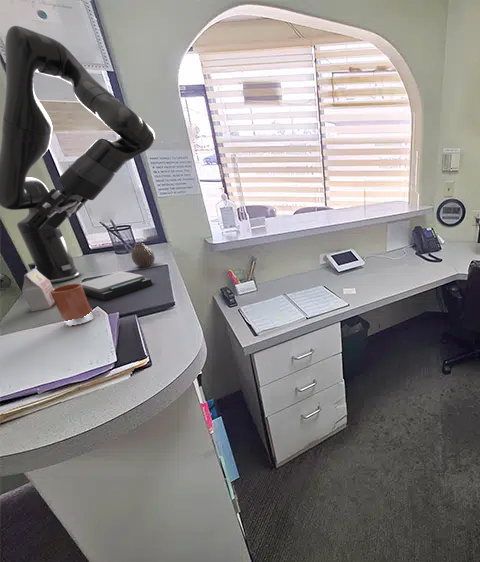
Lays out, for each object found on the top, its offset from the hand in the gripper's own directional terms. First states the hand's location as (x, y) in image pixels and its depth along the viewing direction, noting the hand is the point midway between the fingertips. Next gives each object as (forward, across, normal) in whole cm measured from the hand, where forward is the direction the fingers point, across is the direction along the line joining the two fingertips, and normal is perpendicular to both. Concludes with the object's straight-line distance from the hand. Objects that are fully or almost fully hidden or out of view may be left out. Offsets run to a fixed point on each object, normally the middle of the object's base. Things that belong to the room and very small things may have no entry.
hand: (42, 226), depth 76 cm
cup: (+13, +8, +20) cm, 25 cm away
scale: (+9, -15, +19) cm, 26 cm away
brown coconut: (+4, -38, +19) cm, 43 cm away
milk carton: (+21, -10, +9) cm, 25 cm away
